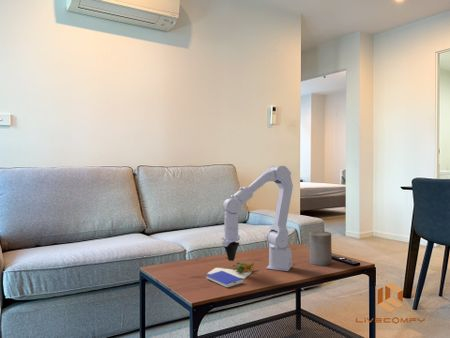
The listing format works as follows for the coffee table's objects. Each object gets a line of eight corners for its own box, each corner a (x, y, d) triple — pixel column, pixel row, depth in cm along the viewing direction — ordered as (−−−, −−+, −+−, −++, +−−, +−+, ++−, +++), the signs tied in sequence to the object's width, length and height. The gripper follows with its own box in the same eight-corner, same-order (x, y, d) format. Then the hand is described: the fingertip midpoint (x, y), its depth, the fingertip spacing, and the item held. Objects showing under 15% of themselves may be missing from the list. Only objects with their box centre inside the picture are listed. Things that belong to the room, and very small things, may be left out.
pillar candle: (327, 260, 170) (327, 228, 170) (334, 265, 160) (334, 231, 160) (307, 260, 170) (306, 228, 169) (312, 266, 160) (312, 232, 160)
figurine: (228, 266, 149) (244, 269, 144) (245, 258, 158) (260, 261, 153) (228, 273, 149) (244, 277, 144) (245, 265, 158) (261, 268, 153)
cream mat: (251, 272, 150) (251, 271, 150) (244, 279, 141) (244, 278, 141) (216, 268, 156) (216, 267, 156) (207, 274, 147) (207, 273, 147)
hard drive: (206, 274, 141) (226, 283, 131) (222, 270, 146) (243, 278, 136) (206, 278, 141) (226, 287, 131) (222, 274, 146) (243, 282, 136)
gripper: (228, 224, 158) (228, 255, 159) (215, 229, 145) (215, 263, 145) (244, 225, 156) (244, 257, 156) (231, 231, 142) (231, 265, 142)
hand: (231, 260), depth 150 cm, fingers closed
